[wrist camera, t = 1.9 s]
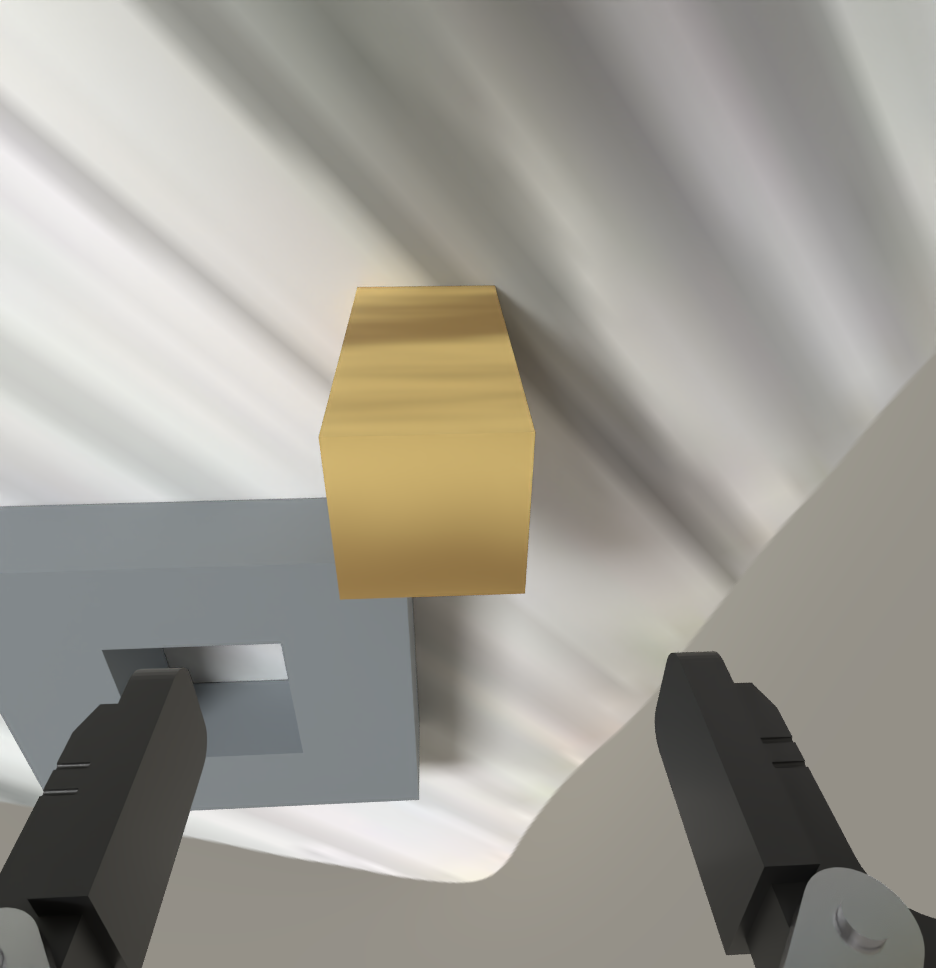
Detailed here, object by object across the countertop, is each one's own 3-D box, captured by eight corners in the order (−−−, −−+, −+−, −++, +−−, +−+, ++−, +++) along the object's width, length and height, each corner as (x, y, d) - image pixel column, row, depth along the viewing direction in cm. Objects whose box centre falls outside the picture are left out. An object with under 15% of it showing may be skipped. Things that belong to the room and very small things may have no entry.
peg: (357, 287, 23) (318, 437, 14) (494, 285, 23) (535, 432, 15) (367, 410, 25) (339, 599, 17) (491, 407, 25) (524, 593, 17)
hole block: (-14, 507, 26) (-77, 576, 23) (407, 495, 27) (404, 560, 24) (93, 739, 34) (58, 817, 31) (419, 726, 35) (418, 799, 32)
